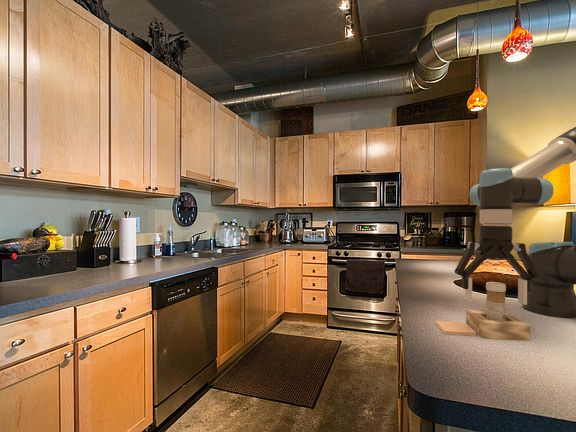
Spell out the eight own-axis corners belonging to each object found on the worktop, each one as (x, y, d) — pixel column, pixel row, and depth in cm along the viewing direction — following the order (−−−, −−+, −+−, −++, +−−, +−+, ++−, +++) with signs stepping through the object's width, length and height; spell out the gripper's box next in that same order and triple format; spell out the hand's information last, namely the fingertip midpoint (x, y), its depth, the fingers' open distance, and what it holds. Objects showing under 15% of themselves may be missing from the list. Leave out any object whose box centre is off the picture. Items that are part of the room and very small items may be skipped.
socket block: (507, 325, 89) (507, 312, 89) (530, 340, 79) (530, 325, 79) (466, 323, 91) (466, 310, 91) (483, 338, 80) (483, 322, 80)
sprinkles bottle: (493, 327, 88) (493, 280, 88) (510, 333, 84) (509, 284, 84) (482, 329, 86) (482, 282, 86) (498, 335, 82) (498, 285, 82)
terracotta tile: (464, 325, 90) (464, 322, 90) (476, 335, 82) (476, 332, 82) (435, 323, 91) (435, 321, 91) (444, 333, 83) (444, 331, 83)
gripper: (537, 225, 87) (537, 300, 87) (442, 224, 91) (442, 296, 91) (556, 226, 79) (555, 308, 79) (452, 224, 83) (451, 303, 83)
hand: (495, 302), depth 85 cm, fingers open, 13 cm apart
